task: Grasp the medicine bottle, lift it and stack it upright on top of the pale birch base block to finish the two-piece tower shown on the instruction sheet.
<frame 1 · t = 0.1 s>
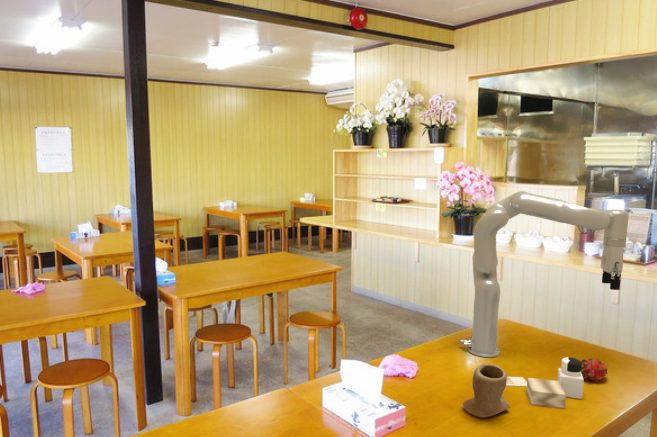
hand: (610, 286, 192), 31 cm above the table, fingers open, 9 cm apart
dragon fruit: (592, 379, 182), on the table
instruction sheet: (512, 381, 179), on the table
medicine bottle: (569, 393, 171), on the table
base block: (544, 400, 166), on the table
stone cup: (488, 411, 158), on the table
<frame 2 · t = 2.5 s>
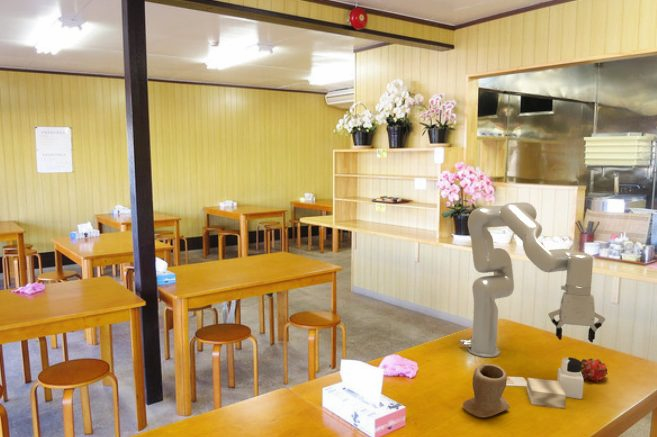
hand: (574, 339, 168), 19 cm above the table, fingers open, 9 cm apart
nothing on the table moved.
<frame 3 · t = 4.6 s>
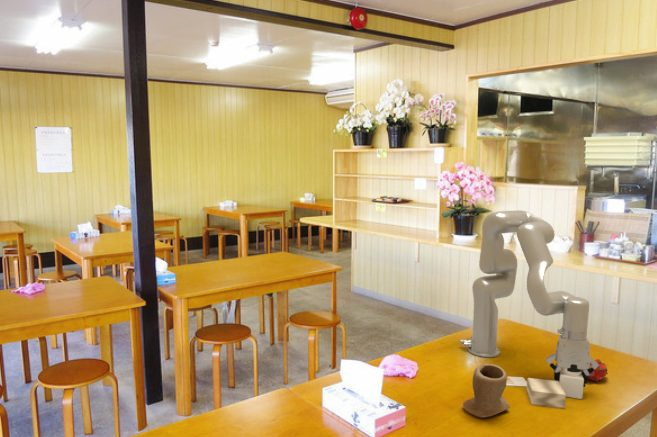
hand: (570, 383, 170), 3 cm above the table, fingers closed on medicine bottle, 7 cm apart
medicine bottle: (569, 393, 171), on the table, touching gripper
everything else where it was.
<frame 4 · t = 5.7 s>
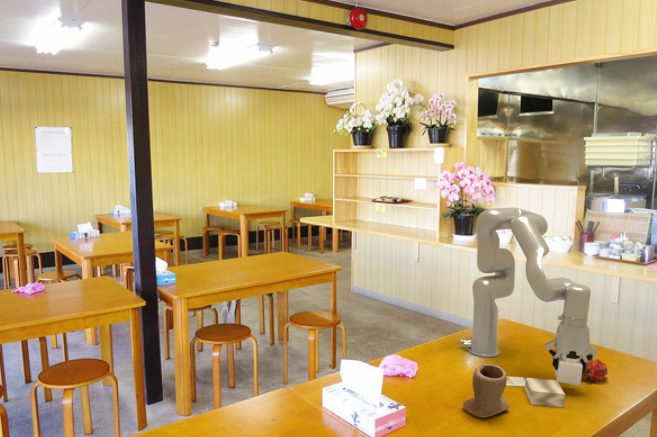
hand: (568, 369, 171), 8 cm above the table, fingers closed on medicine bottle, 7 cm apart
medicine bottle: (567, 379, 171), point 4 cm above the table, touching gripper
everything else where it was.
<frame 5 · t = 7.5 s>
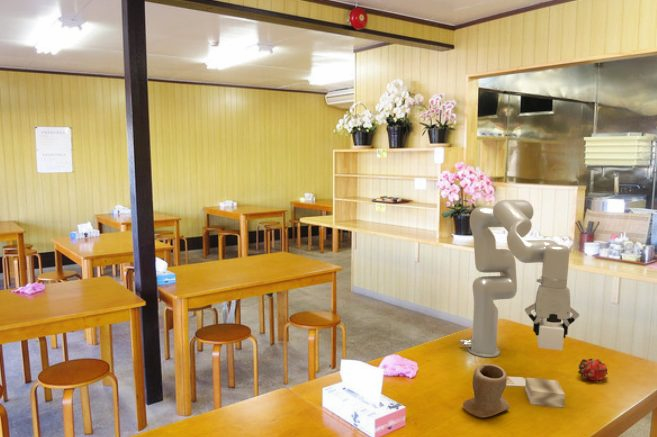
hand: (549, 335, 163), 22 cm above the table, fingers closed on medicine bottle, 7 cm apart
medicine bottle: (549, 345, 164), point 19 cm above the table, touching gripper
everything else where it was.
when the fingers open (9 cm above the table, at t = 10.7 s): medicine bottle drops 1 cm, point 4 cm above the table.
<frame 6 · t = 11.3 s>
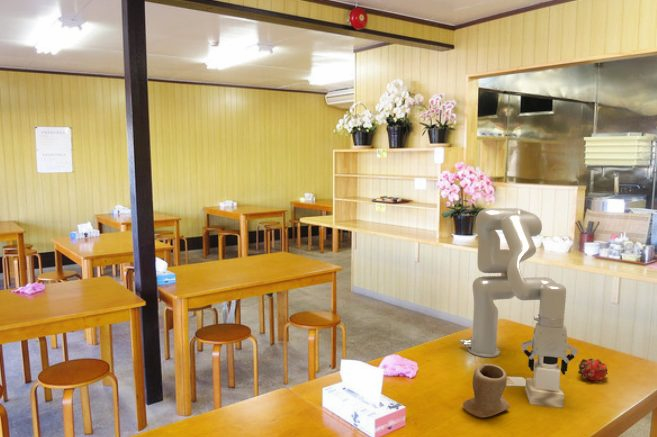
hand: (547, 371, 165), 10 cm above the table, fingers open, 9 cm apart
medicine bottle: (545, 386, 166), point 4 cm above the table
everything else where it was.
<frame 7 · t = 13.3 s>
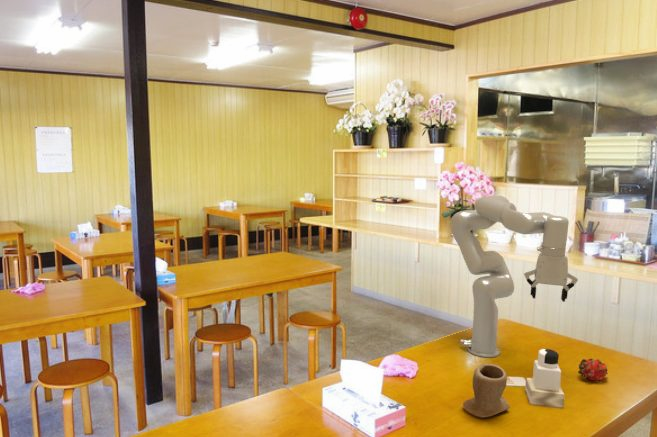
hand: (548, 298, 176), 30 cm above the table, fingers open, 9 cm apart
nothing on the table moved.
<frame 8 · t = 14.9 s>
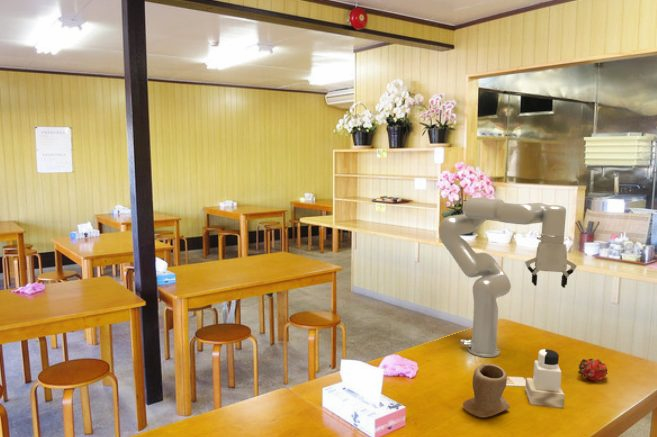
hand: (548, 285, 182), 33 cm above the table, fingers open, 9 cm apart
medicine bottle: (546, 386, 166), point 4 cm above the table, touching base block
base block: (543, 400, 166), on the table, touching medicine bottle
everything else where it was.
at the end: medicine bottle inside the target area on the base block (0.5 cm from its centre), point 5.0 cm above the base block's base; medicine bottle tilted 3°; the gripper is holding nothing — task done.
